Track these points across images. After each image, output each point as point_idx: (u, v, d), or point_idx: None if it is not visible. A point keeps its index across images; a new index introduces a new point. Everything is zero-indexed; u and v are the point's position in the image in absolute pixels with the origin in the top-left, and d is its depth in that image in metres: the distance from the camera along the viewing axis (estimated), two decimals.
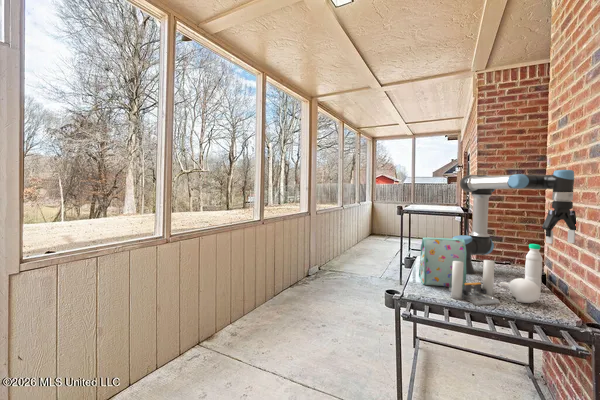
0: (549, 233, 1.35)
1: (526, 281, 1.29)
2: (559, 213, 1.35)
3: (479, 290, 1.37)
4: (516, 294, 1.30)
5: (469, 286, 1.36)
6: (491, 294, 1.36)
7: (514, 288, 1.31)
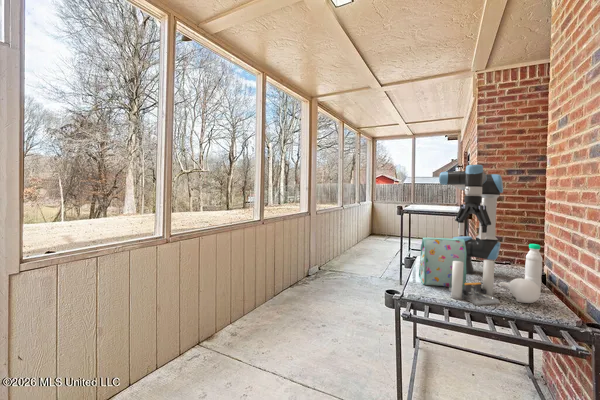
0: (458, 225, 1.46)
1: (526, 281, 1.29)
2: (466, 207, 1.41)
3: (479, 290, 1.37)
4: (516, 294, 1.30)
5: (469, 286, 1.36)
6: (491, 294, 1.36)
7: (514, 288, 1.31)
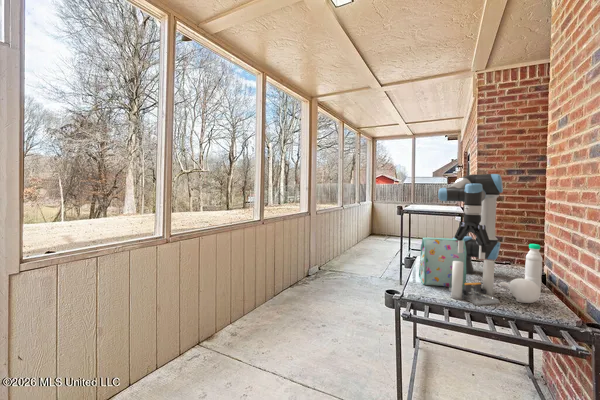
0: (458, 243, 1.46)
1: (526, 281, 1.29)
2: (465, 225, 1.40)
3: (479, 290, 1.37)
4: (516, 294, 1.30)
5: (469, 286, 1.36)
6: (491, 294, 1.36)
7: (514, 288, 1.31)
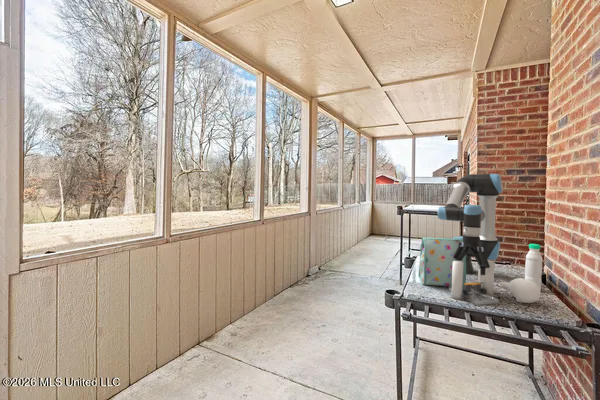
0: None
1: (526, 281, 1.29)
2: (464, 246, 1.41)
3: (479, 290, 1.37)
4: (516, 294, 1.30)
5: (469, 286, 1.36)
6: (491, 294, 1.36)
7: (513, 288, 1.31)
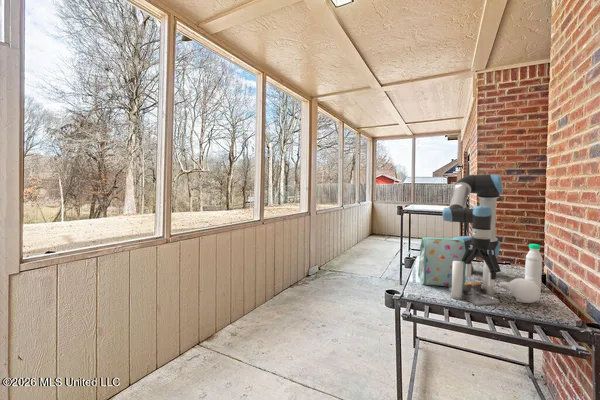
0: (465, 266, 1.40)
1: (526, 281, 1.29)
2: (473, 249, 1.35)
3: (479, 290, 1.37)
4: (516, 294, 1.30)
5: (469, 286, 1.36)
6: (491, 294, 1.36)
7: (514, 288, 1.31)
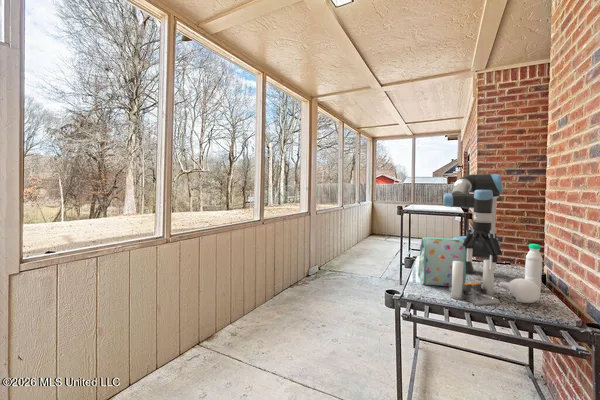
0: (466, 251, 1.40)
1: (526, 281, 1.29)
2: (474, 233, 1.35)
3: (479, 290, 1.37)
4: (516, 294, 1.30)
5: (469, 286, 1.36)
6: (491, 294, 1.36)
7: (514, 288, 1.31)
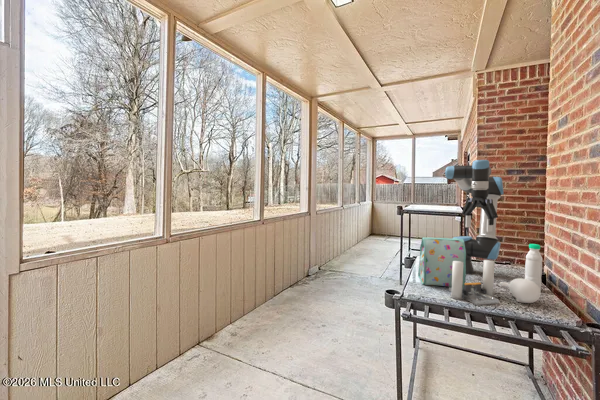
0: (465, 218, 1.53)
1: (526, 281, 1.29)
2: (473, 200, 1.47)
3: (479, 290, 1.37)
4: (516, 294, 1.30)
5: (469, 286, 1.36)
6: (491, 294, 1.36)
7: (514, 288, 1.31)
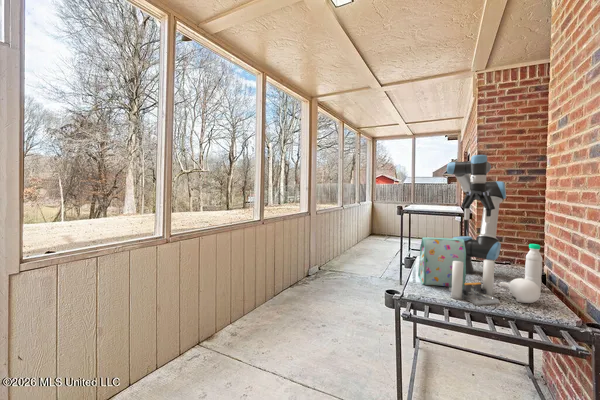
0: (464, 211, 1.60)
1: (526, 281, 1.29)
2: None
3: (479, 290, 1.37)
4: (516, 294, 1.30)
5: (469, 286, 1.36)
6: (491, 294, 1.36)
7: (514, 288, 1.31)
